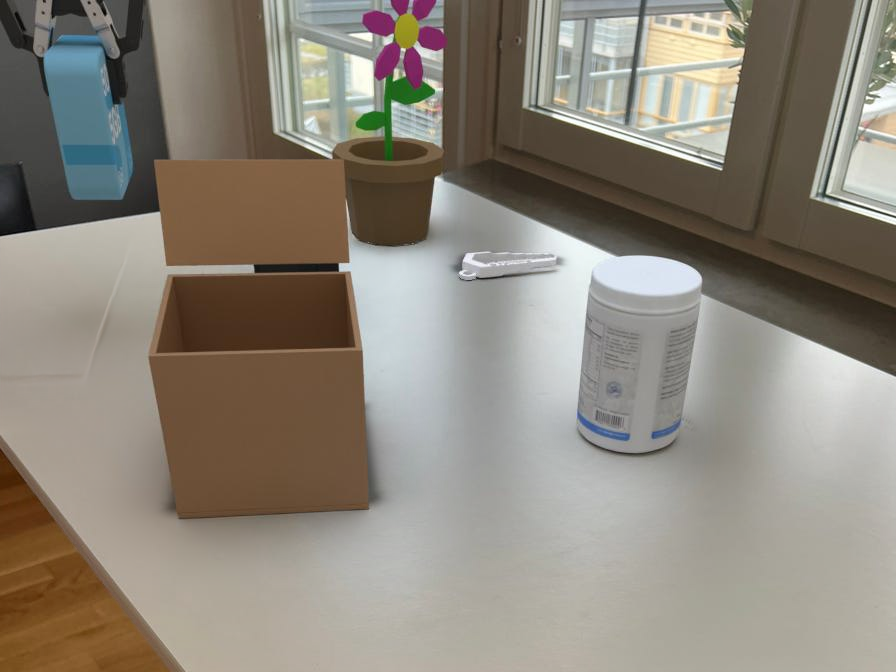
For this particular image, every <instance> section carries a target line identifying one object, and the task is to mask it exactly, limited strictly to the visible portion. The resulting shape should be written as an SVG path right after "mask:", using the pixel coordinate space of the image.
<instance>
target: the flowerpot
mask: <svg viewBox="0 0 896 672" xmlns="http://www.w3.org/2000/svg"><path fill="white" fill-rule="evenodd" d="M389 1H390V6H391V7H392V9H393V10H394V12H396V14H397V15H398V17H396V20H394V18H393V17H392V15H391V14H390V13H387V12H383V11H380V10H376V9H373V10H370V11H367V12H364V13H363V14H362V21H361V24H362V25H363V26H364V27H365V28H366V29H367V31H368V32H369V33H370V34H374V35H376V36H377V35H378V36H380V37H385V38H388V37H389V36H391V35H393V38H392V41H391V42H390V43H388V44H386V45H384V47H383V48H382V50H381V51H380V53H379V55H378V56H377V57H376V60H375V67H374V73H373V77H374V78H375V79H376V80H377V81H378V82H380V81H382V80H385V81H384V92H383V111H378V110H372V111H368V112H366V113H363V114H362V115H361V116H359V118H358V119H357V120H356V121H355V128H357V129H360V130H363V131H366V132H368V131H377V130H379V129H382V128H383V127H384V136H382V135H380V136H369V137H367V136H366V137H356V138H352V139H349V140H346V141H342V142H339V143H336V145H335V146H334V148H333V149H332V150H331V158H332V159H331V160H344V174H345V191H346V208H347V214H348V218H349V225H350V230H351V235H352V234H353V235H354V236H355V237H354V236H353V235H352V236H353V237H354V238H356V239H357V240H358V239H359V240H361V241H360V242H362V241H365V242H364V243H366V242H369V243H368V244H370V243H372V244H371V245H373V244H379V245H378V246H384V245H401V246H405V245H404V244H409V245H413V244H412V243H415V244H417V243H419V242H418V241H420V242H422V241H424V240H426V239H427V237H428V234H429V229H430V228H429V227H430V222H431V211H432V204H433V196H434V189H435V180H436V178H437V177H439V176H441V175H442V174H443V171H444V168H445V149H444V148H442V147H441V146H439V145H438V144H435V143H434V142H431V141H426V140H421V139H418V138H417V139H416V138H412V137H399V136H393V122H392V121H393V117H392V111H393V110H392V101H394V102H397V103H398V104H401V105H404V106H408V105H413V104H418V103H421V102H423V101H425V100H426V99H428V98H431V97H432V96H434V95H435V94H436V89H435V88H434V87H432V86H431V85H430V84H428V83H427V82H425V81H424V80H423V78H424V67H423V62H422V57H421V54H420V53H419V52H418V50H417V49H416V48H415V44H416V43H417V42H418V44H419V45H420V47H421V48H424V49H427V50H430V51H434V52H438V51H440V50H443V49H446V48H447V46H448V37H447V36H446V35H445V34H444V32H443V31H442V29H440V28H436V27H433V26H429V25H423V26H422V27H419V21H422V20H424V19H426V18H428V17H429V15H430V13H431V12H432V11H433V9H434V7H435V6H436V4H437V0H413V1H412V7H411V8H412V9H411V13H408V10H409V4H410V0H389ZM402 49H404V50H405V51H404V56H403V58H402V64H403V70H404V74H405V75H404V76H401V77H400V78H397V79H395V80H394V75H395V74H394V73H395V69H396V67H397V66H398V64H399V63H400V61H401V52H402V51H401V50H402ZM425 238H426V239H425ZM423 239H424V240H423ZM359 240H358V241H359ZM421 240H422V241H421ZM416 242H417V243H416Z"/></svg>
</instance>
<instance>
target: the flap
mask: <svg viewBox="0 0 896 672" xmlns="http://www.w3.org/2000/svg"><path fill="white" fill-rule="evenodd" d="M153 163H154V173H155V181H156V188H157V199H158V206H159V216H160V223H161V233H162V240H163V241H162V242H163V247H164V248H163V249H164V257H165V266H166V267H189V266H191V267H193V266H194V267H196V266H252V265H253V266H254V265H260V264H323V263H339V264H350V259H351V258H350V243H349V229H348V228H349V227H348V225H349V224H348V207H347V201H346V191H345V174H344V160H332V159H154V160H153Z"/></svg>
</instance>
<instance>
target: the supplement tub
mask: <svg viewBox="0 0 896 672" xmlns="http://www.w3.org/2000/svg"><path fill="white" fill-rule="evenodd" d="M702 286H703V278H702V275H701V274H700V272H698V271H697V269H695V268H694V267H692V266H690V265H688V264H686V263H684V262H681V261H679V260H675V259H670V258H666V257H660V256H656V255H655V256H654V255H622V256H621V255H620V256H616V257H611V258H607V259H605V260H602V261H600V262H598V263H597V264H596V265H595V266H593V268H592V271H591V276H590V283H589V285H588V291H587V301H586V311H585V322H584V333H583V341H582V342H583V343H582V352H581V353H582V355H581V365H580V375H579V386H578V387H579V389H578V398H577V408H576V426H577V429H578V430H579V432H580V434H581V435H582V437H584V438H585V439H586V440H587V441H589V442H590V443H591V444H594V445H596V446H598V447H600V448H602V449H605V450H609V451H612V452H617V453H618V452H619V453H626V454H643V453H650V452H654V451H656V450H659V449H660V450H661V449H663V448H665V447H667V446H668V445H670V444H671V443H672V442H674V440H676V438H677V437H678V435H679V432H680V429H681V423H682V419H683V418H682V417H683V414H684V413H683V411H684V406H685V400H686V394H687V390H688V389H687V388H688V383H689V377H690V370H691V366H692V365H691V364H692V358H693V354H694V353H693V352H694V346H695V340H696V333H697V329H698V323H699V316H700V310H701V304H702V303H701V302H702V301H701V300H702V288H703V287H702Z"/></svg>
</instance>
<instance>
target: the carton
mask: <svg viewBox="0 0 896 672" xmlns="http://www.w3.org/2000/svg"><path fill="white" fill-rule="evenodd" d="M166 275H167V276H166V279H165V284H164V288H163V291H162V297H161V300H160V305H159V310H158V314H157V318H156V322H155V327H154V331H153V335H152V338H151V342H150V347H149V351H148V355H147V357H148V363H149V370H150V375H151V379H152V384H153V385H152V386H153V390H154V395H155V400H156V401H155V402H156V406H157V411H158V416H159V421H160V422H159V423H160V428H161V433H162V438H163V444H164V449H165V454H166V460H167V466H168V471H169V476H170V481H171V486H172V491H173V492H172V493H173V498H174V503H175V508H176V513H177V518H178V519H196V518H214V517H215V518H216V517H234V516H236V517H237V516H253V515H254V516H255V515H275V514H294V513H295V514H297V513H312V512H333V511H352V510H354V511H355V510H369V509H370V497H369V495H370V493H369V473H368V472H369V471H368V470H369V469H368V450H367V449H368V447H367V445H368V444H367V422H366V399H365V397H366V396H365V378H364V377H365V373H364V370H365V369H364V353H363V352H364V350H363V343H362V337H361V330H360V329H361V328H360V324H359V317H358V316H359V315H358V310H357V304H356V298H355V297H356V296H355V290H354V285H353V284H354V283H353V278H352V272H351V271H339V272H288V273H254V272H240V273H237V272H236V273H234V272H233V273H179V274H171V273H170V274H166Z"/></svg>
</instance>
